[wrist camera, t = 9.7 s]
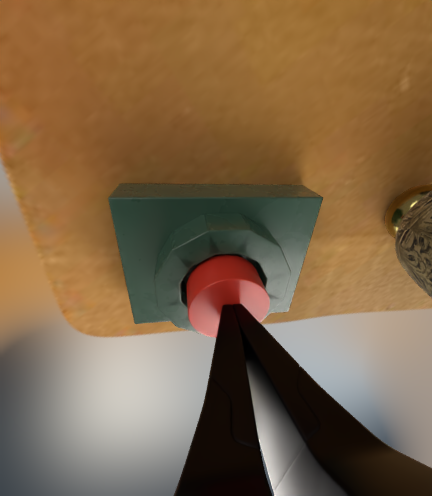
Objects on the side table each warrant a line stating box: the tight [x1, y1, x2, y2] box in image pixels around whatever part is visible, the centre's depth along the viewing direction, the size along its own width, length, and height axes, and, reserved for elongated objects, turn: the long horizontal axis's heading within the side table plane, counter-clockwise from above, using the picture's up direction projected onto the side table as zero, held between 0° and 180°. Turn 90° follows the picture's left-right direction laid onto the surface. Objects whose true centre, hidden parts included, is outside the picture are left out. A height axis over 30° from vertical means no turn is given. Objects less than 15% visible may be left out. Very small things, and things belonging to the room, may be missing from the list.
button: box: [187, 255, 270, 337], centre depth 10 cm, size 4×4×2 cm
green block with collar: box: [108, 184, 323, 335], centre depth 12 cm, size 10×8×4 cm
